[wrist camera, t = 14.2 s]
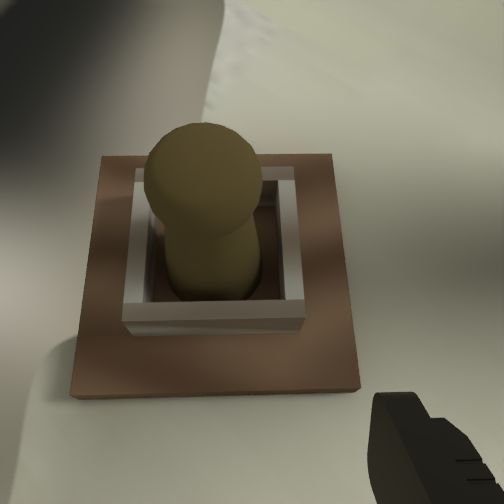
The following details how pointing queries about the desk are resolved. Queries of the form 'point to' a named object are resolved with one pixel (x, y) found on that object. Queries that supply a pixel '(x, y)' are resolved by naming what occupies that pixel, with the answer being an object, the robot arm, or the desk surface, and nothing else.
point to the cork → (207, 211)
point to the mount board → (218, 312)
